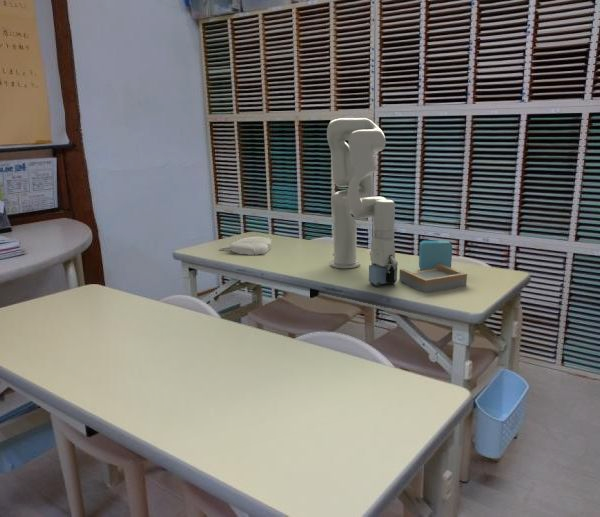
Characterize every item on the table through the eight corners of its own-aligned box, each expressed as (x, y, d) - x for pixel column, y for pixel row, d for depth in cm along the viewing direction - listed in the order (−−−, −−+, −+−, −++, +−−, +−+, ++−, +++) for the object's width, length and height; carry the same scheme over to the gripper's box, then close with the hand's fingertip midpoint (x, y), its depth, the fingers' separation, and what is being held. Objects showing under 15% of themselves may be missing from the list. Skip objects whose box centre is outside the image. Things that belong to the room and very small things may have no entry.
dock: (399, 280, 188) (399, 269, 187) (438, 274, 195) (438, 263, 194) (425, 292, 174) (425, 280, 173) (466, 285, 181) (467, 273, 180)
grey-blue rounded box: (368, 283, 186) (368, 265, 184) (388, 280, 189) (389, 262, 187) (376, 288, 180) (376, 269, 179) (397, 284, 184) (397, 266, 182)
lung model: (266, 255, 230) (214, 259, 234) (273, 247, 246) (225, 251, 251) (264, 241, 228) (212, 246, 233) (272, 234, 245) (223, 238, 249)
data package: (448, 269, 202) (450, 240, 199) (451, 272, 198) (452, 242, 195) (418, 269, 203) (419, 240, 200) (420, 272, 199) (421, 243, 196)
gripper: (362, 230, 186) (362, 274, 190) (387, 239, 171) (386, 287, 175) (380, 228, 189) (379, 272, 193) (406, 237, 173) (404, 284, 178)
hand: (382, 279), depth 184 cm, fingers open, 9 cm apart
